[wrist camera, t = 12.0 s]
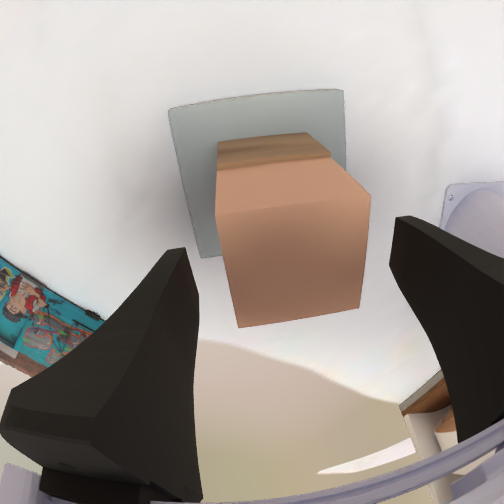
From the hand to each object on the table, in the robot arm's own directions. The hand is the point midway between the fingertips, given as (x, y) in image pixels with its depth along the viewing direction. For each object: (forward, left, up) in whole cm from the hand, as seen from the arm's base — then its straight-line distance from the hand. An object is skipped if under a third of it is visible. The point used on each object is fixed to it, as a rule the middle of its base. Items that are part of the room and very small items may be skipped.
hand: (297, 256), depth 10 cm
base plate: (0, 0, -9) cm, 9 cm away
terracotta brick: (0, 0, -4) cm, 4 cm away
